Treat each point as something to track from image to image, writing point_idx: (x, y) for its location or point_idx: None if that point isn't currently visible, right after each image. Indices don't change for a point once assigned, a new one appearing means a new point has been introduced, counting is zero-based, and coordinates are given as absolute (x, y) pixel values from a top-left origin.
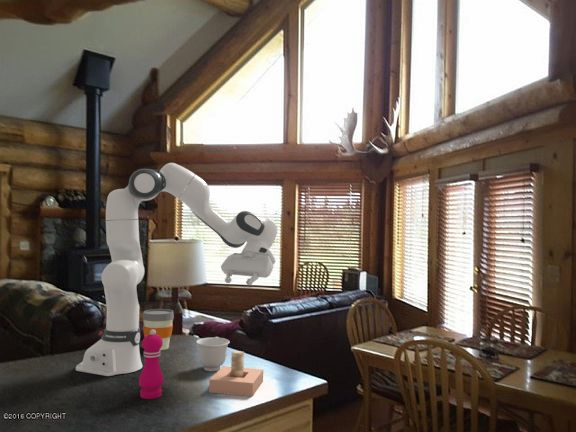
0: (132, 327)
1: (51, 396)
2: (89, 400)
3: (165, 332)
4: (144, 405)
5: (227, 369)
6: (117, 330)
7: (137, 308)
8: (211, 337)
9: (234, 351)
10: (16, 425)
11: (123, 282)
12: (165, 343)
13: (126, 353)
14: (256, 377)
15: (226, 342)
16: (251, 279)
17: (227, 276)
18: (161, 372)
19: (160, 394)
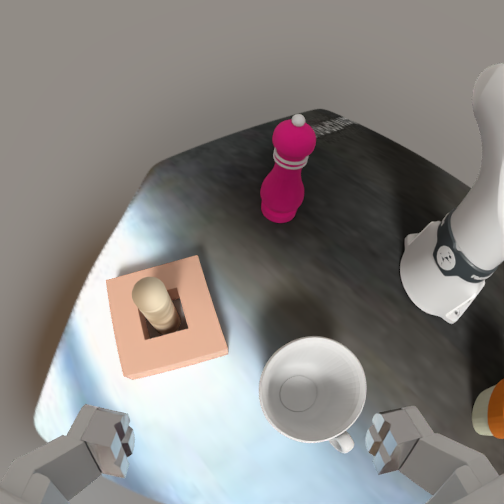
0: (456, 227)
1: (374, 159)
2: (330, 165)
3: (496, 407)
4: (254, 180)
5: (202, 332)
6: (456, 208)
7: (488, 214)
8: (352, 422)
9: (162, 297)
10: (318, 111)
11: (474, 93)
12: (480, 415)
13: (424, 246)
14: (112, 315)
15: (288, 428)
16: (69, 438)
17: (425, 436)
18: (270, 189)
19: (262, 210)
